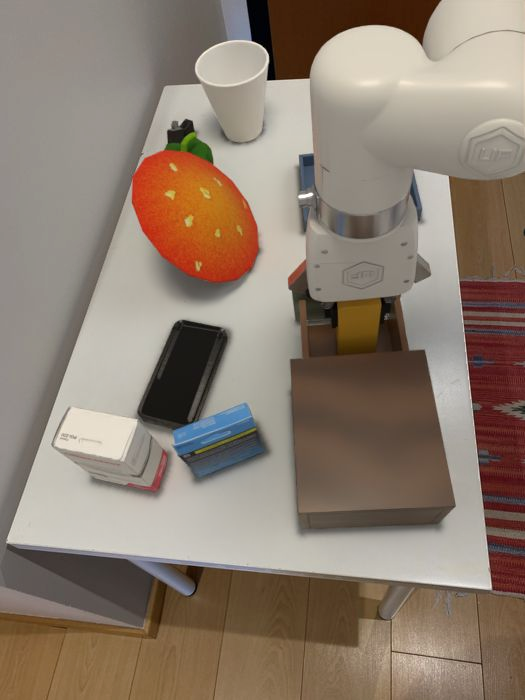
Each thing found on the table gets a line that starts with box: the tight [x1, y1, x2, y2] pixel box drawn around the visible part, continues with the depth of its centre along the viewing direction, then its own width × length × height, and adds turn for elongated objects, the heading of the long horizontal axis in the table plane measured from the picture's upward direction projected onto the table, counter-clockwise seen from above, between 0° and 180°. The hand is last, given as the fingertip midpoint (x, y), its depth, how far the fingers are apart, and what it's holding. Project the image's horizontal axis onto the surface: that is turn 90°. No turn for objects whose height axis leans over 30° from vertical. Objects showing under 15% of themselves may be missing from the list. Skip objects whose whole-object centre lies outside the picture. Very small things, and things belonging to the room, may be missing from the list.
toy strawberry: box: [131, 149, 260, 284], centre depth 72 cm, size 15×21×15 cm
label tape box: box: [170, 401, 266, 478], centre depth 57 cm, size 9×4×12 cm, turn 110°
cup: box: [194, 39, 270, 144], centre depth 85 cm, size 12×12×12 cm
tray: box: [298, 152, 423, 233], centre depth 79 cm, size 17×14×2 cm
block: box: [335, 298, 381, 356], centre depth 59 cm, size 4×4×12 cm
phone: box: [136, 319, 229, 430], centre depth 68 cm, size 8×1×15 cm
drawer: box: [291, 291, 410, 358], centre depth 62 cm, size 17×14×7 cm
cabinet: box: [289, 348, 457, 531], centre depth 56 cm, size 17×15×9 cm
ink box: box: [50, 406, 169, 492], centre depth 58 cm, size 9×5×12 cm, turn 77°
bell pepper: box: [163, 131, 215, 166], centre depth 80 cm, size 8×8×10 cm
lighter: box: [166, 118, 196, 144], centre depth 89 cm, size 8×2×5 cm
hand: (356, 314), depth 58 cm, fingers closed on block, 4 cm apart
